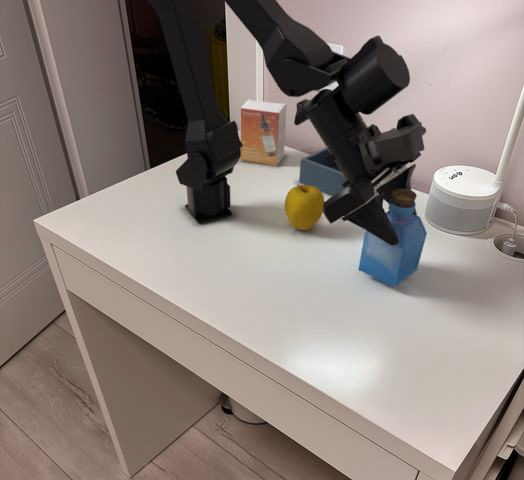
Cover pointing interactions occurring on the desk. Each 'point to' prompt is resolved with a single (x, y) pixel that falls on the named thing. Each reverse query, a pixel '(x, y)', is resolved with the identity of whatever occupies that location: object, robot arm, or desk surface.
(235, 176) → the desk surface
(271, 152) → the small box
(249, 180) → the desk surface
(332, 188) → the bin
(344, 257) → the desk surface
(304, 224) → the apple
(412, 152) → the robot arm
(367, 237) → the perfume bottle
